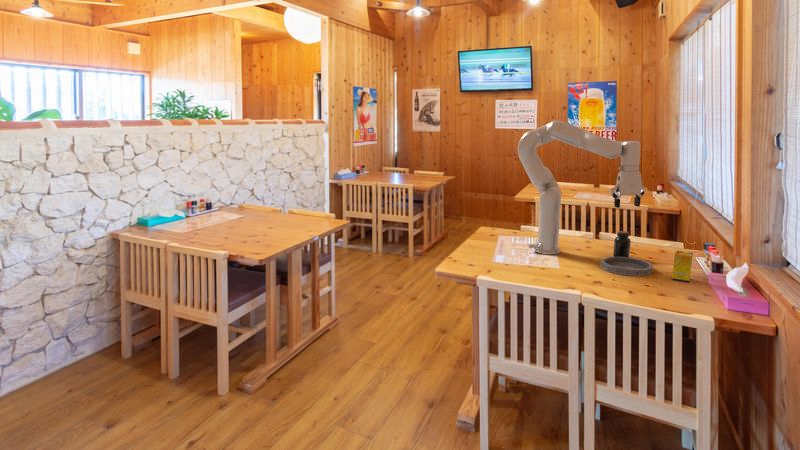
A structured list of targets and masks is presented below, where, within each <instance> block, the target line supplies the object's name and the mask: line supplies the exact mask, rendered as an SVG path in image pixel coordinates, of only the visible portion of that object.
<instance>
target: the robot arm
mask: <svg viewBox="0 0 800 450" xmlns="http://www.w3.org/2000/svg"><path fill="white" fill-rule="evenodd" d="M555 140H556V141H559V142H562V143H564V144H567V145H571V146H572V147H576V148H579V149H581V150H585V151H588V152H591V153H592V154H593V153H594V154H596V155H599V156H602V157H605V158H607V159H613V160H614V159H617V158H618V157H620V166H619V167H617V170H618V171H619V172H618V173H617V177H616V184H615V186H613V187H612V188H609V192H610V196H612V198H613V200H614V202H613V204H614V208H616V209H617V208H618V209H620V207H621V199H620V198H621V197H622V196H632V195H634V196H635V197H634V198H633V199H634V201H633V205H634V206H635V207H637V208H639V207H640V206H641V198H643V196H644V194H645V192H646V191H647V188H648V187H646V186H644V185H643V181H642V174H641V173H642V172H641V171H639V170H640V161H641V160H640V159H641V145H642V144H641V142H640V141H638V140H626V141H618V140H612V139H609V138H606V137H603V136H600V135H598V134H595V133H593V132H591V131H589V130H587V129H585V128H582V127H578V126H576V125H573V124H570V123H568V122H566V121H562V120H558V119H555V120H552V121H550V122H549V123H547V124H544V125H542V126H539V127H537V128H534V129H531V130H527V131H526V132H525V133H524V134H523V135H522V137H520V139H519V142H518V144H517V155H518V159H519V161H520V163H521V164H522V166H523V168H524V171H525V173H526V174H527V176H528V178H529V180H530V182H531V184H532V185H533V186H535V187H536V188H537V191H538V193H539V199H538V200H539V202H538V205H539V207H538V211H539V213H538V231H537V233H538V234H537V240H536V241H535V242H534V243H528V245H527V247H528V248H529V249H534V252H535V251H536V252H535V253H537V252H538V254H541V253H542V255H558V254H559V255H560V253H562V249H561V248H559V235H560V217H561V216H560V215H561V202H562V190H561V188H560V186H559V184H558V183H557V181H556V179H555V177H554V175H553V173H552V171H551V170H550V168H549V167H547V166H545V165H544V163H543V161H542V159H541V157H540V156H539V154H538V151H537V148H539V147H540V146H543V145H545V144H548V143H550V142H553V141H555Z"/></svg>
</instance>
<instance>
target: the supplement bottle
mask: <svg viewBox="0 0 800 450" xmlns="http://www.w3.org/2000/svg"><path fill="white" fill-rule="evenodd" d="M616 233H617V234H616V237H615V238H614V241H613V250H612V252H613V254H612V257H630V252H631V238H629V237H630V232H628V231H624V230H618V231H617V232H616Z"/></svg>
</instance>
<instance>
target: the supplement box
mask: <svg viewBox="0 0 800 450" xmlns="http://www.w3.org/2000/svg"><path fill="white" fill-rule="evenodd" d="M693 255H694V253H693V251H685V250H675V253H674V256H673V257H674V258H673V268H672V276H671V281H676V282H681V283H682V282H683V283H687V284H688V283H690V280H691V272H692V264H693Z"/></svg>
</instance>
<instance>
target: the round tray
mask: <svg viewBox="0 0 800 450" xmlns="http://www.w3.org/2000/svg"><path fill="white" fill-rule="evenodd" d="M599 262H600V264H599V266H600V268H601V269H602V270H603V271H605V272H607V273H611V274H615V275H619V276H626V277H644V276H649V275H651V274H653V271H654V265H653V264H652V263H651V262H649V261H647V260H645V259H641V258H635V257H631V256H629V257H614V256H606V257H603V258H602V259H600V261H599Z"/></svg>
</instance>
